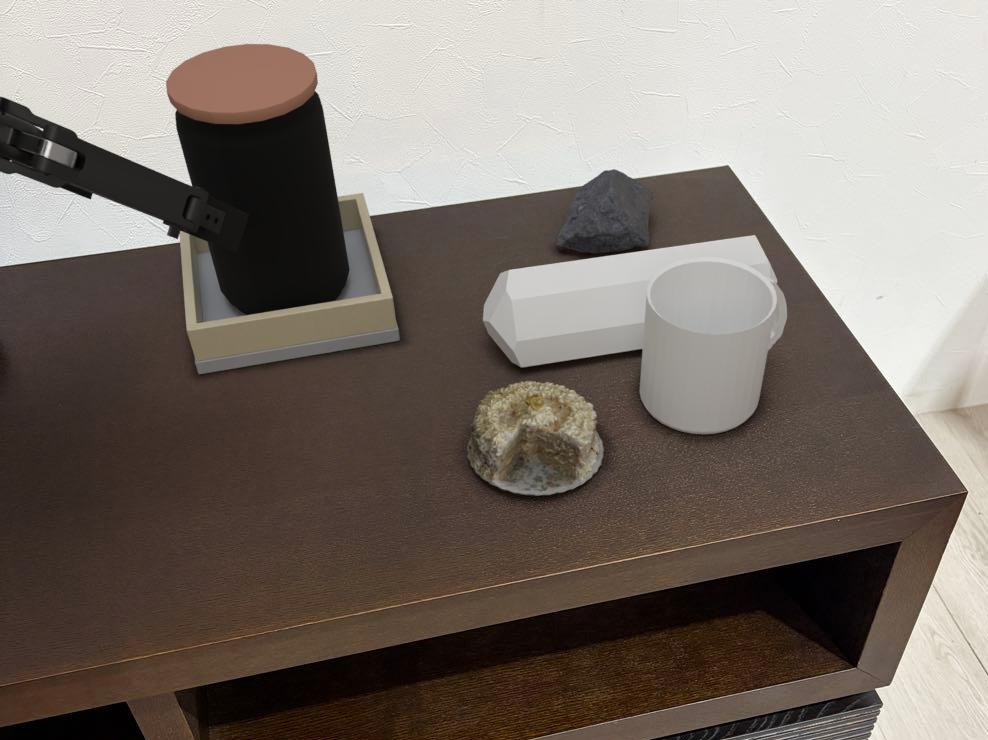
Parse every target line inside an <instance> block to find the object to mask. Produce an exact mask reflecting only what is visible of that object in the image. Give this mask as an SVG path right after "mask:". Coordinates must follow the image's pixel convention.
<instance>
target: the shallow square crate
mask: <svg viewBox="0 0 988 740" xmlns="http://www.w3.org/2000/svg"><path fill="white" fill-rule="evenodd" d="M364 194H365V193H363V192H359V193H352V194H347V195H346V194H345V195H339V196H338V195H337V196H338V202H339V208H340V214H341V221H342V227H343V233H344V239H345V245H346V251H347V257H348V263H349V269H350V271H349V274H348V278H347V282H346V285H345V287H344V288H343V289H342V292H341V294H340V295H339V297H338V298H337V299H336V300H335V301H332V302H326V303H319V304H313V305H307V306H301V307H295V308H288V309H282V310H276V311H270V312H264V313H257V314H251V315H246V314H244V313H243V312H241V311H239V310H238V309H237V308H236V307H234V306H233V305H231V303H230V302H229V301H228V300H227V298H226V297H225V296H224V295H223V293H222V292H221V290H220V286H219V283H218V279H217V275H216V272H215V268H214V264H213V261H212V257H211V253H210V250H209V246H208V242H207V241H205V240H202V239H200V238H197V237H195V236H192V235H190V234H187V233H185V232H182V231H180V234H179V246H180V258H181V275H182V287H183V301H184V315H185V327H186V334H187V337H188V341H189V343H190V347H191V350H192V352H193V356H194V364H195V367H196V371H197V373H198V375H205V374H210V373H217V372H221V371H228V370H234V369H239V368H240V369H241V368H245V367H251V366H258V365H263V364H269V363H275V362H282V361H288V360H293V359H299V358H305V357H311V356H317V355H322V354H323V355H324V354H327V353H328V354H329V353H335V352H340V351H346V350H347V351H348V350H352V349H358V348H364V347H369V346H370V347H371V346H376V345H383V344H389V343H393V342H399V341H401V337H400V330H399V326H398V322H397V317H396V309H395V303H394V296H393V293H392V290H391V286H390V281H389V279H388V276H387V272H386V268H385V265H384V261H383V258H382V255H381V250H380V248H379V244H378V240H377V236H376V233H375V230H374V227H373V223H372V219H371V216H370V212H369V209H368V208H369V207H368V205H367V201H366V198H365V195H364Z"/></svg>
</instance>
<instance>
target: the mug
mask: <svg viewBox="0 0 988 740" xmlns="http://www.w3.org/2000/svg"><path fill="white" fill-rule="evenodd" d="M787 320H788V307H787V299H786V297H785V294H784V292H783V290H782V289H781V288H780V286H779V285H778V283H777V284H776V283H775V282H774V281H773V280H771V279H770V278H769V277H767V276H764V275H763V274H761V273H760V272H758V271H757V270H755V269H753V268H752V267H750V266H747V265H745V264H742V263H740V262H736V261H733V260H729V259H722V258H713V257H699V258H690V259H685V260H680V261H677V262H674V263H671V264H669V265H667V266H665V267H663V268H662V269H661V270H659V271H658V272H657V273H655V275H654V276H653V277H652V278H651V280H650V282H649V284H648V286H647V296H646V310H645V323H644V336H643V349H641V350H642V351H641V366H640V380H639V392H638V393H639V396H640V397H639V398H640V400H641V402H642V405H643V406H644V408H645V409H646V411H647V412H648V413H649V414H650V415H651V417H653V418H654V419H655V420H656V421H658V422H659V423H660V424H663V425H664V426H666V427H667V428H670V429H673V430H675V431H679V432H682V433H687V434H691V435H715V434H719V433H724V432H728V431H731V430H733V429H736V428H737V427H739V426H740V425H742V424H744V423H745V422H746V421H747V420H748V419H749V418H750V417H752V416H753V414H754V413H755V411H756V409H757V408H758V406H759V401H760V397H761V393H762V391H761V390H762V386H763V381H764V375H765V370H766V363H767V359H768V358H767V357H768V353H769V350H771V349H772V348H773V346H774V345H775V344H776V343H777V341H778V340H779V339H780V338H781V337H782V335H783V333H784V330H785V326H786V323H787Z"/></svg>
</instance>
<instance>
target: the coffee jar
mask: <svg viewBox="0 0 988 740" xmlns="http://www.w3.org/2000/svg"><path fill="white" fill-rule="evenodd" d="M318 83H319V82H318V72H317V69H316V65H315V63H314V61H313V60H311V58H309V57H308V56H307V55H306V54H304V53H302V52H300V51H298V50H295V49H293V48H291V47H289V46H288V47H287V46H282V45H275V44H270V43H243V44H235V45H229V46H222V47H218V48H213V49H211V50H207V51H204V52H201V53H199V54H197V55H195V56H192V57H190V58H188V59H186V60H184V61H183V62H181V63H180V64H179V65H178V66H177V67H175V68H174V69H173V70H171V72H170V74H169V75H168V77H167V79H166V80H165V87H166V93H167V94H166V95H167V98H168V101H169V103H170V104H171V105H172V107H173V108H174V109H175V114H174V116H175V117H174V119H175V126H176V128H175V129H176V132H177V136H178V140H179V143H180V147H181V150H182V154H183V158H184V162H185V164H186V169H187V173H188V177H189V180H190V184H191V186H192V187H196V186H198V187H200V188H203V189H204V191H207V192H208V194H209V196H211V197H213V198H215V199H217V200H219V201H221V202H223V203H226V204H228V205H230V206H232V207H234V208H236V209H239V210H241V211H243V212H245V213H247V214H249V217H248V220H247V223H246V226H245V229H244V232H243V235H242V238H241V241H240V244H239V247H238V251H237V253H235V252H232V251H230V250H227V249H224V248H222V247H220V246H217V245H215V244H212V243H210V242H208V246H209V250H210V253H211V257H212V261H213V264H214V268H215V272H216V275H217V279H218V283H219V286H220V290H221V292H222V293H223V295H224V296H225V297H226V298H227V300H228V301H229V302H230V303H231V305H233V306H234V307H236V308H237V309H238V310H239V311H241V312H243V313H244V314H246V315H251V314H257V313H264V312H270V311H276V310H282V309H288V308H295V307H301V306H307V305H313V304H319V303H326V302H332V301H335V300H336V299H337V298H338V297H339V295H340V294H341V292H342V289H343V288H344V287H345V285H346V282H347V278H348V274H349V271H350V269H349V263H348V257H347V251H346V245H345V239H344V233H343V227H342V221H341V214H340V208H339V202H338V190H337V186H336V185H337V184H336V179H335V173H334V167H333V160H332V155H331V154H332V153H331V148H330V143H329V136H328V129H327V124H326V117H325V113H324V108H323V104H322V101H321V98H320V95H319V93H318V92H317V91H316V89H317V86H318Z"/></svg>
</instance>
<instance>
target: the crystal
mask: <svg viewBox="0 0 988 740" xmlns="http://www.w3.org/2000/svg"><path fill="white" fill-rule="evenodd" d="M699 257H713V258H722V259H729V260H733V261H736V262H740V263H742V264H745V265H747V266H750V267H752V268H753V269H755V270H757V271H758V272H760V273H761V274H763V275H764V276H767V277H769V278H770V279H771V280H773V281H774V282H775V283H776V284H777V285H778V278H777V276H776V274H775V271H774V269H773V267H772V264H771V263H770V260H769V258H768V256H767V254H766V253H765V251H764V249H763V247H762V245H761V243H760V241H759V240H758V238H757V236H756V234H754V235H753V234H752V235H746V236H739V237H738V236H737V237H731V238H725V239H717V240H710V241H704V242H697V243H689V244H681V245H674V246H667V247H660V248H654V249H646V250H640V251H632V252H625V253H618V254H611V255H604V256H598V257H591V258H590V257H589V258H584V259H577V260H569V261H562V262H556V263H555V262H554V263H547V264H542V265H540V264H539V265H534V266H526V267H521V268H514V269H508V270H505V271H502V272H500V273H499V275H498V276H497V279H496V281H495V282H494V285H493V287H492V288H491V290H490V292H489V294H488V296H487V298H486V300H485V302H484V304H483V313H482V322H483V325H484V327H485V330H486V332H487V334H488V335H489V336H490V338H491V339H492V340H493V342H495V344H496V345H497V347H499V349H500V350H501V351H502V352H503V354H504V355H505V356H506V357H507V359H508V360H509V361H510V362H511V364H514V365H516V366H518V367H520V368H528V367H534V366H541V365H547V364H553V363H560V362H565V361H572V360H579V359H586V358H592V357H599V356H605V355H610V354H611V355H612V354H617V353H618V354H619V353H624V352H631V351H637V350H643V336H644V323H645V310H646V296H647V286H648V284H649V282H650V280H651V278H652V277H653V276H654V275H655V273H657V272H658V271H659V270H661V269H662V268H663V267H665V266H667V265H669V264H671V263H674V262H677V261H680V260H685V259H690V258H699Z"/></svg>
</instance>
